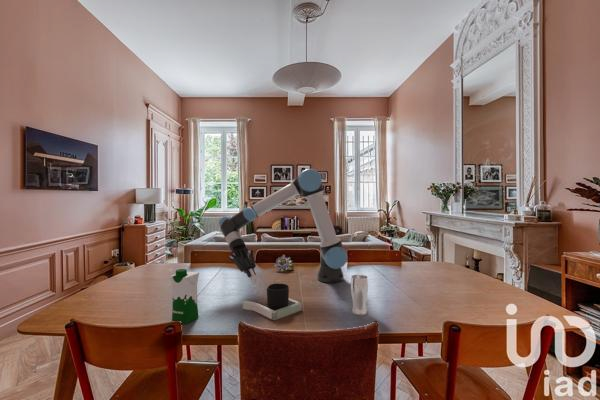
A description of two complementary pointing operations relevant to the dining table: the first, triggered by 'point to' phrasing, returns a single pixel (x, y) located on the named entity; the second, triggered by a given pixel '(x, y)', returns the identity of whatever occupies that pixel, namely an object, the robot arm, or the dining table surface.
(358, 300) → the beer glass
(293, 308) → the bay
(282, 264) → the grey spiky ball
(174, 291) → the milk carton
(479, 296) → the dining table surface
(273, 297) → the pen holder
